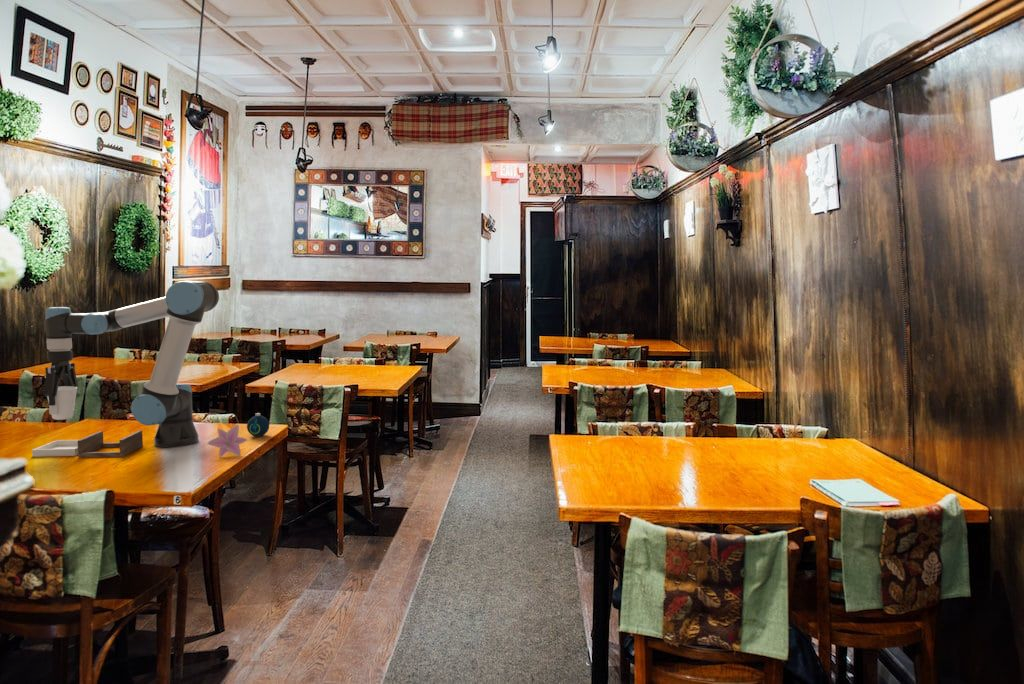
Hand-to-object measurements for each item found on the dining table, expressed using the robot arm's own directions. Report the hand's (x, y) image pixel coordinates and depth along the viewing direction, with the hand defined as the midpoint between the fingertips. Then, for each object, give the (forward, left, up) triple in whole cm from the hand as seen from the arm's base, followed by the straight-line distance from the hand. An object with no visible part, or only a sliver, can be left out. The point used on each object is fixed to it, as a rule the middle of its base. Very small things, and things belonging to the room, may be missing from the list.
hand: (62, 411), depth 237 cm
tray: (0, 0, -15) cm, 15 cm away
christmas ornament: (-63, -19, -15) cm, 68 cm away
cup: (0, 0, -3) cm, 3 cm away
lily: (-61, +9, -15) cm, 63 cm away
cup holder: (-17, +2, -15) cm, 23 cm away
